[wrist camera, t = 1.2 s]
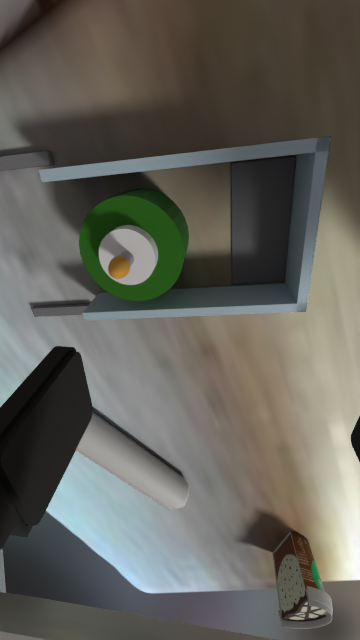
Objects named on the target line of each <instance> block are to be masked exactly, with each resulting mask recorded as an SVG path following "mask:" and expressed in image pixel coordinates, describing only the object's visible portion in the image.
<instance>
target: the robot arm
mask: <svg viewBox="0 0 360 640" xmlns="http://www.w3.org/2000/svg"><path fill="white" fill-rule="evenodd" d="M92 414H93V407H92V403H91V398H90V394H89V389H88V385H87V381H86V376H85V372H84V367H83V363H82V358H81V355H80V353H79V352H76V350H75V348H73V347H61V346H56V347H54V348H53V349H52V350H51V351H50V352H49V354H48V355H47V356H46V357H45V358H44V359H43V360H42V361H41V363H40V364H39V365H38V366H37V367H36V368H35V369H34V370H33V372H32V373H31V374H30V375H29V376H28V377H27V378H26V379H25V381H24V382H23V383H22V384H21V385H20V386H19V387H18V388H17V390H16V391H15V392H14V393H13V394H12V395H11V396H10V397H9V398H8V400H7V401H6V402H5V403H4V404H3V405H2V406H1V407H0V640H275V639H270V638H264V637H258V636H253V635H247V634H242V633H236V632H231V631H225V630H219V629H213V628H208V627H203V626H197V625H191V624H186V623H180V622H174V621H169V620H163V619H158V618H152V617H146V616H140V615H135V614H128V613H123V612H117V611H112V610H106V609H100V608H94V607H88V606H82V605H77V604H71V603H65V602H59V601H54V600H48V599H42V598H36V597H30V596H23V595H16V594H9V593H6V589H5V576H4V565H3V564H4V563H3V552H2V551H3V550H2V548H3V546H4V544H5V542H6V541H7V539H8V537H9V535H16V536H22V537H27V536H28V534H29V532H30V530H31V528H32V526H33V525H37V524H38V523H39V522H40V520H41V518H42V517H43V515H44V513H45V511H46V509H47V507H48V505H49V503H50V501H51V499H52V497H53V495H54V493H55V491H56V489H57V487H58V485H59V483H60V481H61V479H62V477H63V475H64V473H65V471H66V469H67V467H68V465H69V463H70V461H71V459H72V457H73V455H74V453H75V451H76V449H77V447H78V445H79V443H80V441H81V439H82V437H83V435H84V433H85V431H86V429H87V427H88V425H89V423H90V421H91V418H92ZM351 443H352V446H353V448H354V451H355V453H356V455H357V457H358V459H359V461H360V417H359V419H358V421H357V423H356V425H355V427H354V430H353V432H352V434H351Z"/></svg>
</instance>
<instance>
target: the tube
mask: <svg viewBox="0 0 360 640" xmlns="http://www.w3.org/2000/svg"><path fill="white" fill-rule="evenodd" d="M76 451H78V452H79V453H81V454H82V455H84V456H85V457H87V458H89V459H90V460H92V461H93V462H95V463H96V464H98V465H99V466H101V467H103V468H104V469H106V470H107V471H109V472H110V473H112V474H113V475H115V476H116V477H118V478H120V479H121V480H123V481H124V482H126V483H127V484H129V485H130V486H132V487H134V488H135V489H137V490H138V491H140V492H141V493H143V494H144V495H146V496H148V497H149V498H151V499H152V500H154V501H155V502H157V503H158V504H160V505H161V506H163V507H165V508H166V509H168V510H169V511H170V510H173V509H176V508H182V507H184V505H185V503H186V501H187V499H188V496H189V492H190V488H189V486H188V484H187V482H186V480H185V479H184V477H183V476H181V475H180V474H179V473H177V472H176V471H174V470H173V469H172V468H170V467H169V466H167V465H166V464H165V463H163V462H162V461H161V460H159V459H158V458H156V457H155V456H154V455H152V454H151V453H150V452H148V451H147V450H145V449H144V448H143V447H141V446H140V445H138V444H137V443H136V442H134V441H133V440H132V439H130V438H129V437H127V436H126V435H125V434H123V433H122V432H121V431H119V430H118V429H116V428H115V427H114V426H112V425H111V424H109V423H108V422H107V421H105V420H104V419H103V418H101V417H100V416H98V415H97V414H96V413H94V412H93V414H92V418H91V421H90V423H89V425H88V427H87V429H86V431H85V433H84V435H83V437H82V439H81V441H80V443H79V445H78V447H77V449H76Z"/></svg>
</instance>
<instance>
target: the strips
mask: <svg viewBox="0 0 360 640" xmlns="http://www.w3.org/2000/svg"><path fill="white" fill-rule="evenodd" d="M46 165H54V163H53V159H52V156H51V152H50V151H42V152H34V153H26V154H18V155H10V156H2V157H0V171H4V170H12V169H21V168H29V167H38V166H46ZM88 306H89V304H72V305H51V306H34V307H33V308H32V312H33V314H34V317H37V316H60V315H83V314H82V313H83V312H84V310H85V309H86V308H87V307H88Z"/></svg>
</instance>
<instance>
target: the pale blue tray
mask: <svg viewBox="0 0 360 640" xmlns="http://www.w3.org/2000/svg"><path fill="white" fill-rule="evenodd" d="M330 138H331V136H327V137H318V138H310V139H301V140H293V141H284V142H275V143H267V144H258V145H250V146H241V147H233V148H224V149H216V150H207V151H198V152H190V153H181V154H173V155H164V156H156V157H147V158H138V159H130V160H121V161H113V162H104V163H96V164H87V165H79V166H70V167H61V168H53V169H44V170H39V174H40V177H41V180H42V182H50V181H59V180H68V179H78V178H87V177H96V176H105V175H114V174H123V173H132V172H141V171H150V170H159V169H168V168H177V167H186V166H195V165H204V164H213V163H222V162H232V161H241V160H250V159H259V158H268V157H277V156H286V155H295V154H297V158H296V157H288V158H279V159H270V160H260V161H251V162H242V163H233V164H231V169H232V285H234V284H252V283H271V282H284V277H285V283H280V284H261V285H242V286H223V287H204V288H185V289H169V290H168V291H166V292H165V293H164V294H162V295H160V296H158V297H156V298H153V299H150V300H146V301H130V300H125V299H121V298H118V297H116V296H114V295H112V294H110V293H99V294H98V295H97V296H96V297H95V298H94V300H93V301H92V302H91V303H90V304H89V306H88V307H87V308H86V309H85V310H84V312H83V313H82V314H83V317H84V320H107V319H132V318H158V317H183V316H208V315H233V314H258V313H284V312H306V307H307V300H308V293H309V286H310V279H311V272H312V265H313V258H314V251H315V243H316V236H317V229H318V222H319V215H320V208H321V201H322V194H323V187H324V180H325V173H326V166H327V159H328V152H329V145H330ZM295 159H296V169H295ZM294 169H295V180H294ZM293 180H294V190H293ZM292 191H293V201H292ZM291 202H292V211H291ZM290 213H291V222H290ZM289 223H290V233H289ZM288 234H289V243H288ZM287 245H288V254H287ZM286 256H287V264H286ZM285 267H286V275H285Z"/></svg>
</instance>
